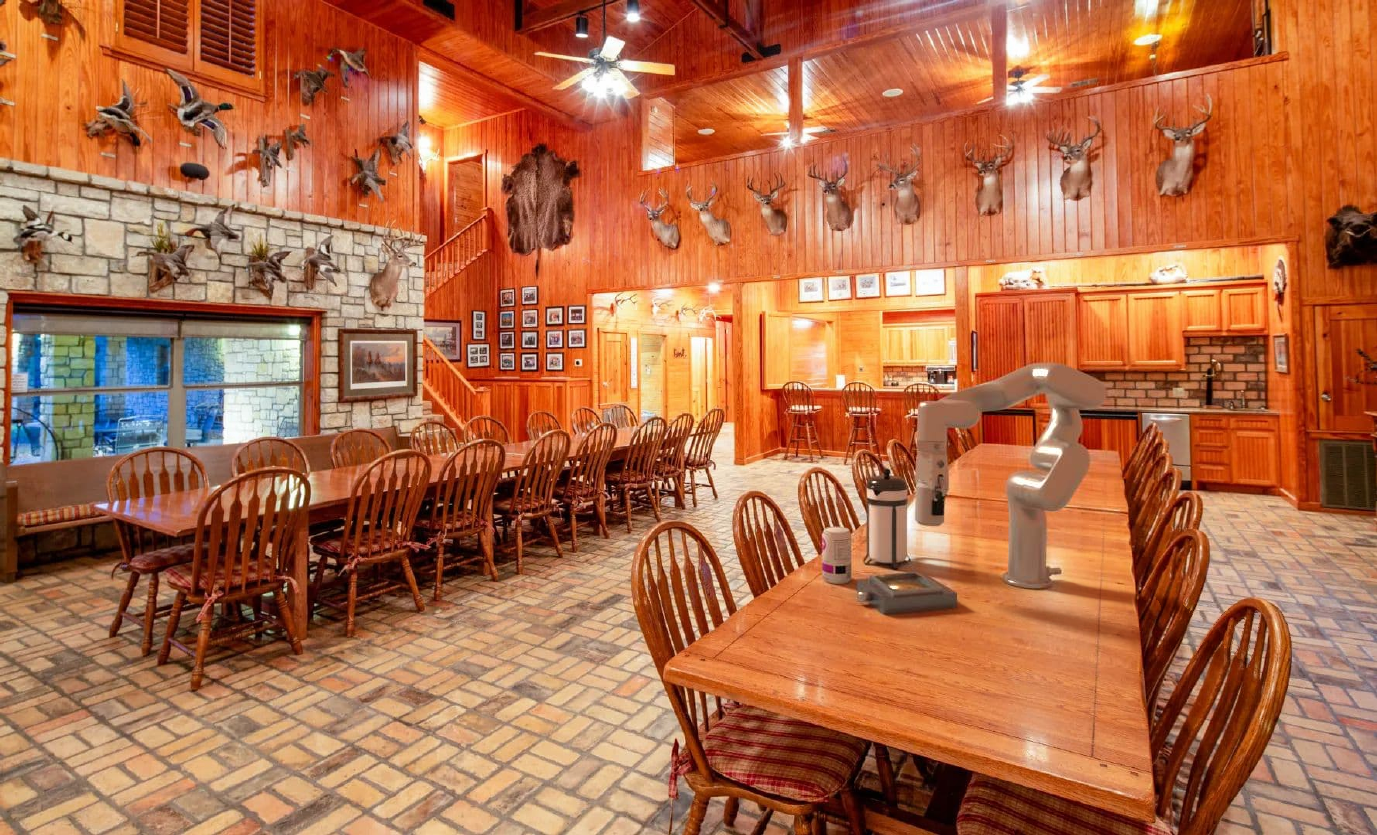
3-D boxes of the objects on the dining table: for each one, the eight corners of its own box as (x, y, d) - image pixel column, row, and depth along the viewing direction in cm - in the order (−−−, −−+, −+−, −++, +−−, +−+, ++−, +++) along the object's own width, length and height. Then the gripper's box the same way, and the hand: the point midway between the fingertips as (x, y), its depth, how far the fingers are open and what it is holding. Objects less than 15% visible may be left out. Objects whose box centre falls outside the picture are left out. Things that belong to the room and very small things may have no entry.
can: (946, 527, 178) (947, 482, 177) (916, 526, 180) (917, 481, 179) (941, 521, 185) (943, 478, 184) (913, 519, 187) (914, 477, 186)
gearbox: (924, 587, 188) (924, 569, 187) (956, 608, 172) (957, 588, 172) (846, 594, 184) (846, 575, 183) (872, 615, 168) (872, 595, 168)
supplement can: (820, 583, 194) (819, 531, 193) (825, 574, 201) (825, 525, 200) (848, 586, 191) (848, 534, 189) (853, 577, 198) (853, 527, 197)
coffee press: (922, 569, 204) (922, 471, 202) (869, 570, 204) (868, 472, 202) (904, 553, 221) (904, 463, 219) (855, 554, 221) (855, 464, 219)
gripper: (962, 450, 173) (960, 518, 174) (928, 443, 190) (926, 505, 191) (935, 451, 172) (933, 519, 173) (903, 443, 189) (901, 505, 190)
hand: (929, 511), depth 182 cm, fingers closed on can, 7 cm apart
